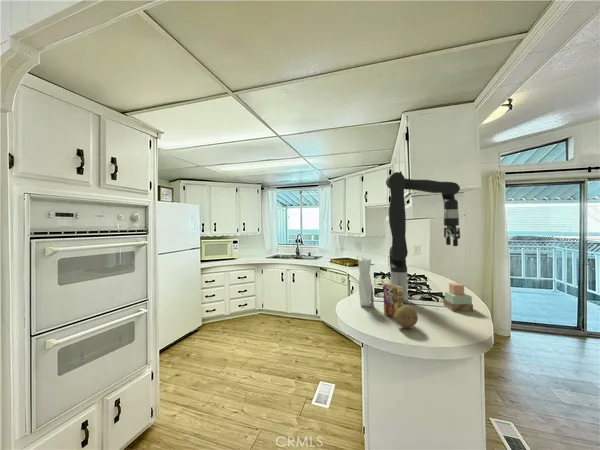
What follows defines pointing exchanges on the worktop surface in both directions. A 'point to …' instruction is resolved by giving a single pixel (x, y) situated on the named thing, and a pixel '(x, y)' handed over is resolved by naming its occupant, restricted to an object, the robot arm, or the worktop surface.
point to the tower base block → (458, 306)
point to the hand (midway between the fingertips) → (451, 245)
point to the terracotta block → (456, 289)
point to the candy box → (392, 299)
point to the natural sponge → (406, 316)
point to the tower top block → (458, 298)
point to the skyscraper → (365, 283)
